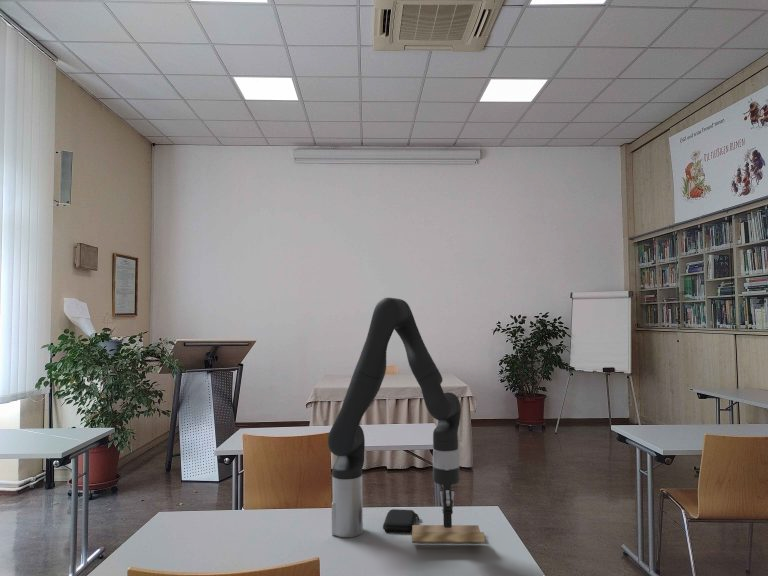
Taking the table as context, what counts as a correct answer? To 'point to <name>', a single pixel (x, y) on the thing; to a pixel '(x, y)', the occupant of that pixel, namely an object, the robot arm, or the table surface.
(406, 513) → the carrying case or bag
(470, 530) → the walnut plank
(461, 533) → the oak plank
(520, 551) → the table surface
